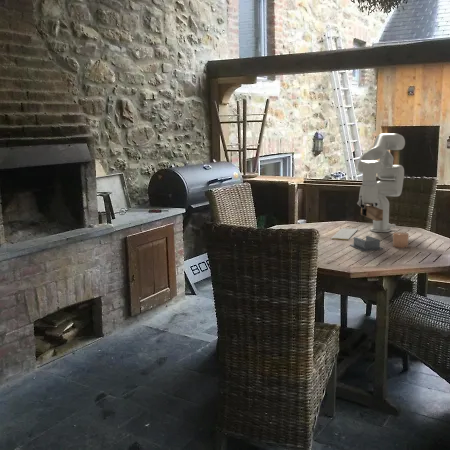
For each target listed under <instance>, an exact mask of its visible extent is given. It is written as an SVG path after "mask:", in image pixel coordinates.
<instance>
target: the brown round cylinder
mask: <svg viewBox="0 0 450 450" xmlns="http://www.w3.org/2000/svg"><path fill="white" fill-rule="evenodd" d="M409 236H410V235H409V233H408V232H405V231H397V232H393V233H392V246H393V247H394V248H397V249H398V248H401V249H405V248H404V247H406V248H408V247H409Z"/></svg>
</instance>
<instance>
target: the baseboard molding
mask: <svg viewBox="0 0 450 450" xmlns="http://www.w3.org/2000/svg"><path fill="white" fill-rule="evenodd" d="M341 227H343V226H340V227H339V230H338V231H337V232H336V233H335V234H333V236H332V237H330V240H337V241H338V240H339V241H349V240H350V239H352V237H353V236H355V234H356V233H357V231H358V230H359V229H358V228H359V227H356V228H355V226H354V227H352V226H350V225H349V226H348V225H347V226H346V227H343V228H341Z"/></svg>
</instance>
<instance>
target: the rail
mask: <svg viewBox="0 0 450 450" xmlns="http://www.w3.org/2000/svg"><path fill="white" fill-rule="evenodd" d="M360 216H362V217H366V218H367V219H370V220H372V221H373V220H375V221H382V220H383V210H382V209H380V208H377V207H374V206H371V204H367V205H366V216H364V215H363V214H362V208H361V207H360Z"/></svg>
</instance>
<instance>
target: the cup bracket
mask: <svg viewBox="0 0 450 450" xmlns="http://www.w3.org/2000/svg"><path fill="white" fill-rule="evenodd" d="M380 240H381V239H378V238H376V237H375V238H374V237H372V236H370V235H366V236H365V239H363V238H360V237H358V236H354V237H353V244H350V245H349V246H350V247H352V248H355V249H357V250H359V251H361V252H365V251H366V252H368V251H379V250H384V247H381V245H380V244H381V241H380Z"/></svg>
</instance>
